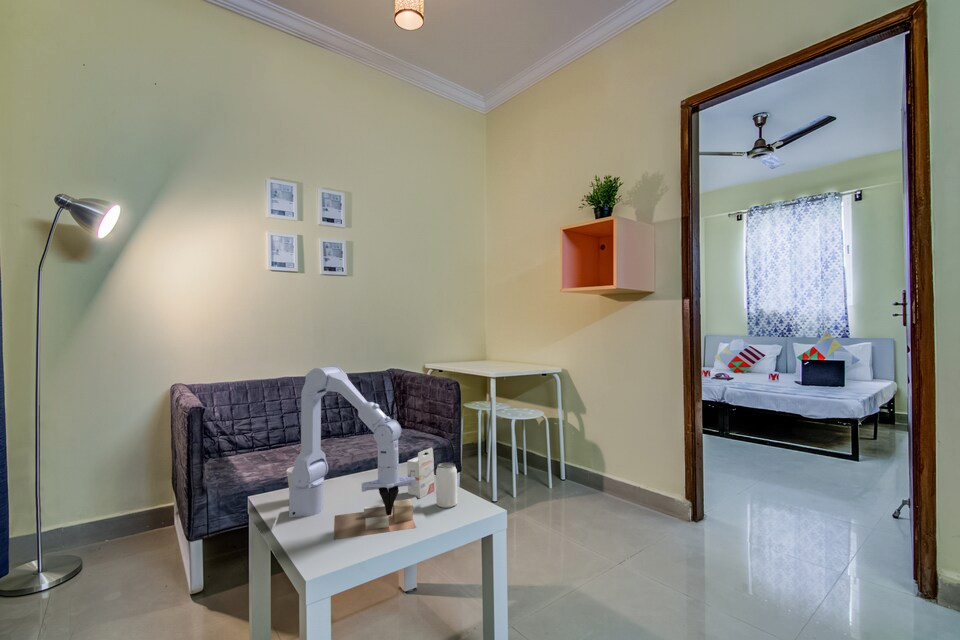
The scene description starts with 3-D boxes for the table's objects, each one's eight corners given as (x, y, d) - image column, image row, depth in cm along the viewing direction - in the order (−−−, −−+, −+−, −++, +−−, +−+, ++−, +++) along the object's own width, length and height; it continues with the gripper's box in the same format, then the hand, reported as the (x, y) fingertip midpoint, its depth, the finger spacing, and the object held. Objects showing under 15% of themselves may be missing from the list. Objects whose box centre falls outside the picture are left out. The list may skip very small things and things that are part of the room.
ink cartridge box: (422, 488, 153) (422, 445, 153) (434, 490, 150) (434, 446, 151) (407, 496, 145) (406, 451, 146) (419, 499, 143) (418, 452, 143)
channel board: (333, 543, 113) (333, 529, 113) (334, 519, 128) (334, 506, 128) (416, 531, 119) (416, 518, 119) (408, 509, 134) (407, 497, 134)
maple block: (394, 522, 123) (394, 507, 123) (392, 515, 128) (392, 501, 128) (412, 519, 124) (412, 505, 124) (410, 513, 129) (410, 499, 129)
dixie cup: (300, 506, 139) (300, 473, 139) (280, 502, 142) (280, 470, 142) (319, 496, 146) (319, 466, 147) (300, 493, 149) (300, 463, 150)
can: (461, 503, 138) (461, 464, 138) (446, 510, 133) (445, 469, 134) (447, 498, 142) (446, 461, 143) (432, 504, 138) (431, 465, 138)
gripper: (362, 471, 119) (362, 523, 119) (416, 466, 124) (416, 515, 123) (361, 464, 126) (361, 513, 126) (412, 459, 130) (412, 506, 130)
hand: (388, 514), depth 125 cm, fingers closed
